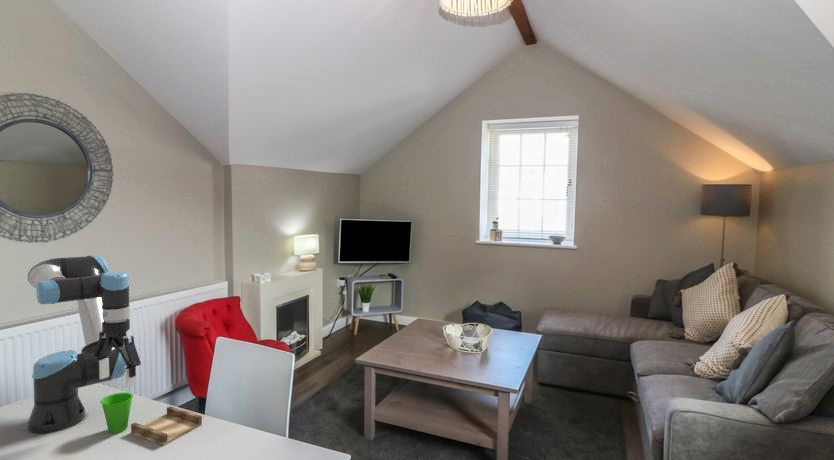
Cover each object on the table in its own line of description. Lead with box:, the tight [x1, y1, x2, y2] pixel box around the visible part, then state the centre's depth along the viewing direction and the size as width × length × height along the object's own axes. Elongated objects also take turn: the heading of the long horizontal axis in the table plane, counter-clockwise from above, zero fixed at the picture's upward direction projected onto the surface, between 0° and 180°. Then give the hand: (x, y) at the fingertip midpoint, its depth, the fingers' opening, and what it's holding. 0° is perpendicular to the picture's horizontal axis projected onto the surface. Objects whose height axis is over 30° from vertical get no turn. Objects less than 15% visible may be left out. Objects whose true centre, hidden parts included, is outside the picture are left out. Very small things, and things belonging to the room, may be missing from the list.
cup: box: [100, 391, 134, 435], centre depth 146 cm, size 9×9×11 cm
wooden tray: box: [130, 405, 203, 446], centre depth 148 cm, size 16×14×3 cm
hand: (117, 382), depth 146 cm, fingers open, 13 cm apart
